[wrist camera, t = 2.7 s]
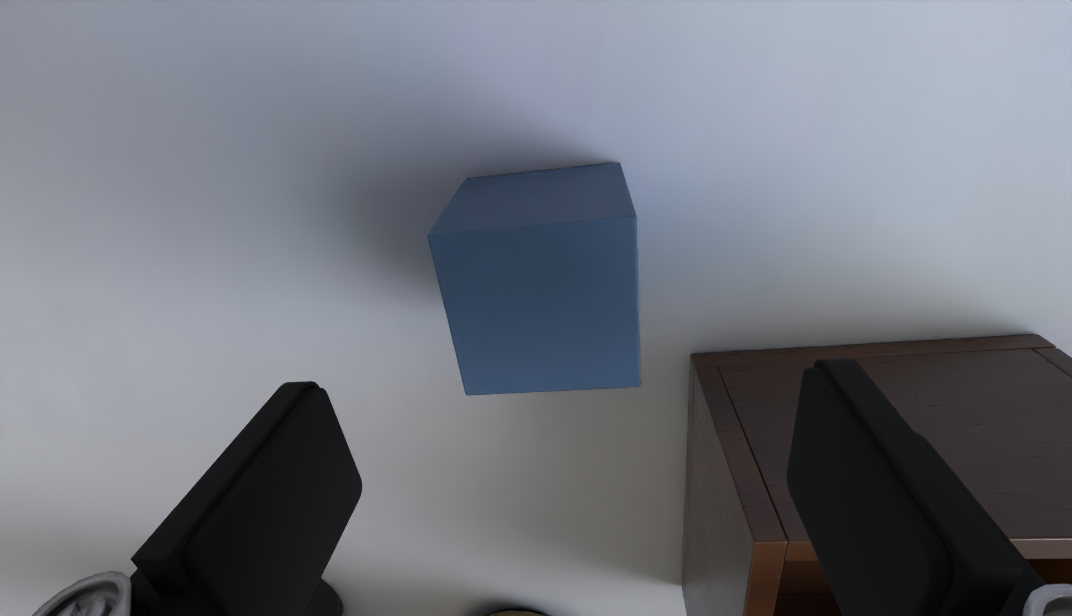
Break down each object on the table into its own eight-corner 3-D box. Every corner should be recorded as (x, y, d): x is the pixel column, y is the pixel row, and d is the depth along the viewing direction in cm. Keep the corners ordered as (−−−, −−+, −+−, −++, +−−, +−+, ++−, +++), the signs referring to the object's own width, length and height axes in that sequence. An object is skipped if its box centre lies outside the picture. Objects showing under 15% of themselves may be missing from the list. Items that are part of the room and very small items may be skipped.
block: (465, 177, 16) (426, 234, 12) (620, 161, 16) (637, 215, 11) (490, 309, 19) (465, 396, 15) (625, 300, 18) (640, 387, 14)
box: (689, 353, 19) (754, 542, 12) (1038, 333, 18) (1333, 534, 11) (681, 587, 27) (718, 787, 20) (927, 586, 25) (1060, 802, 18)
